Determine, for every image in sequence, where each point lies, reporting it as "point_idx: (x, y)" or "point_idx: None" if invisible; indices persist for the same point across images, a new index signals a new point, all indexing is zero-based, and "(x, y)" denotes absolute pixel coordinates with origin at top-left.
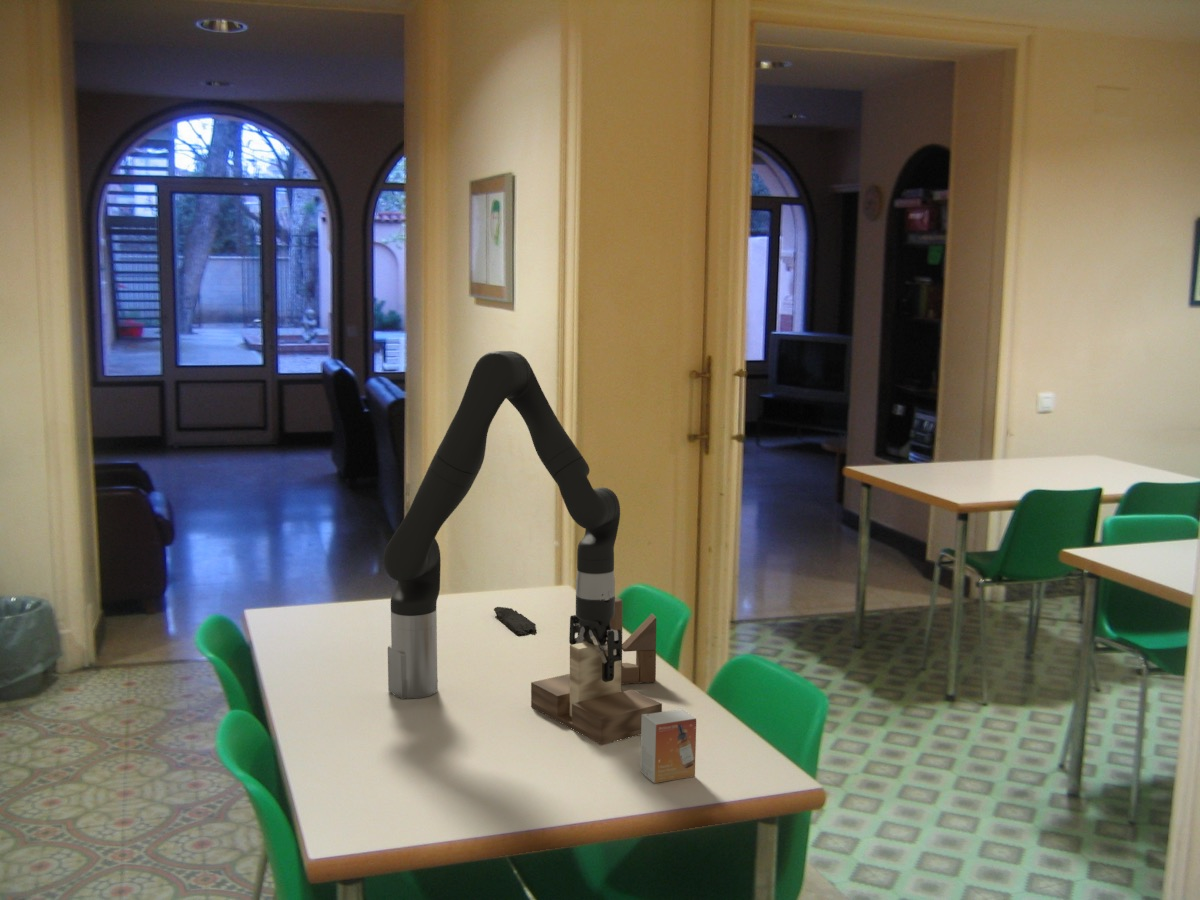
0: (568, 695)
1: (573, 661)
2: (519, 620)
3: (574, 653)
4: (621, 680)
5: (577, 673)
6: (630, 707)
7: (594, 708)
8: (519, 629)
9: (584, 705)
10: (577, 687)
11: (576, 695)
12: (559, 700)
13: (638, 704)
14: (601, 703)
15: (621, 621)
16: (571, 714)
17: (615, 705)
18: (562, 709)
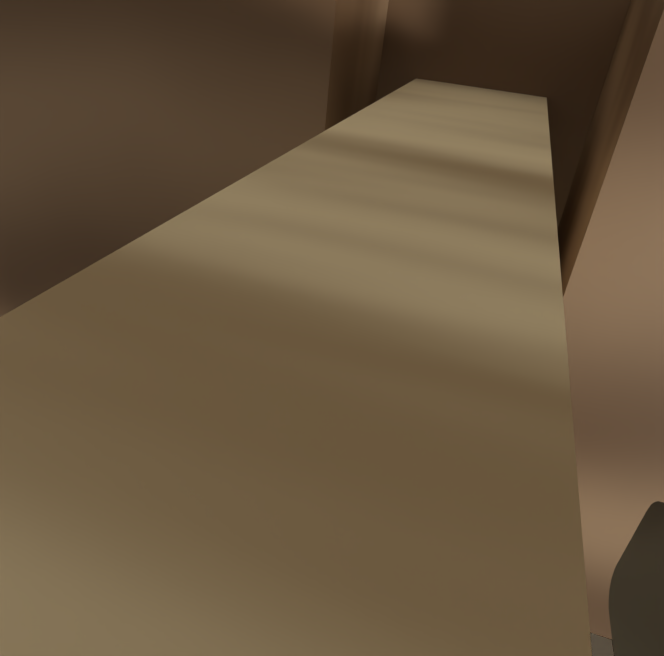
0: (605, 161)
1: (374, 283)
2: None
3: (214, 415)
4: None
5: (294, 176)
6: (23, 281)
7: (113, 55)
8: None
9: (219, 33)
10: (363, 130)
11: (408, 115)
12: (646, 25)
13: None
14: (181, 196)
15: None
16: (517, 94)
17: (96, 240)
18: (618, 63)
